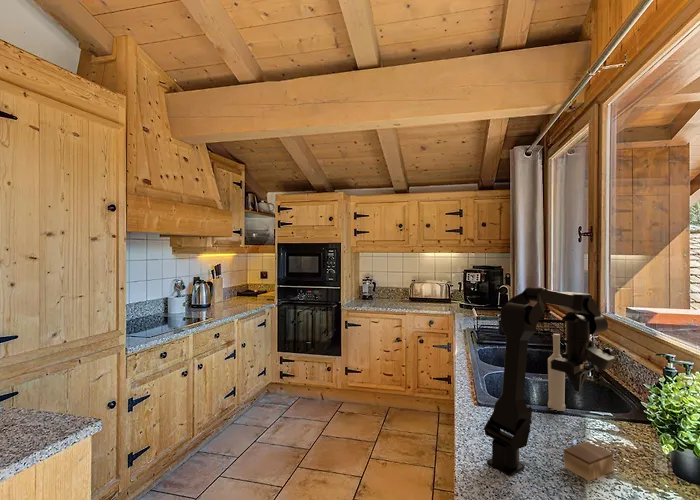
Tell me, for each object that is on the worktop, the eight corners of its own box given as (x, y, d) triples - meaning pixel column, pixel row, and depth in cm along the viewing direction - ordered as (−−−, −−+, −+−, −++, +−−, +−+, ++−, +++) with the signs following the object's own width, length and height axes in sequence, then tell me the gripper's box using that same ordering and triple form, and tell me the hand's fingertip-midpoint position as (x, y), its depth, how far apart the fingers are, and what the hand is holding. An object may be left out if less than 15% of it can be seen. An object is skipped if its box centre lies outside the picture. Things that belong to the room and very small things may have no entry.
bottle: (544, 406, 125) (544, 333, 126) (555, 404, 127) (555, 332, 127) (557, 413, 121) (557, 336, 121) (569, 410, 122) (569, 335, 122)
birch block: (612, 472, 89) (589, 481, 85) (587, 459, 95) (564, 467, 91) (612, 453, 89) (589, 462, 85) (587, 441, 95) (564, 449, 91)
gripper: (593, 347, 94) (593, 409, 94) (624, 337, 104) (624, 393, 104) (549, 338, 103) (549, 394, 103) (581, 330, 113) (581, 381, 113)
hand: (577, 391), depth 105 cm, fingers closed
